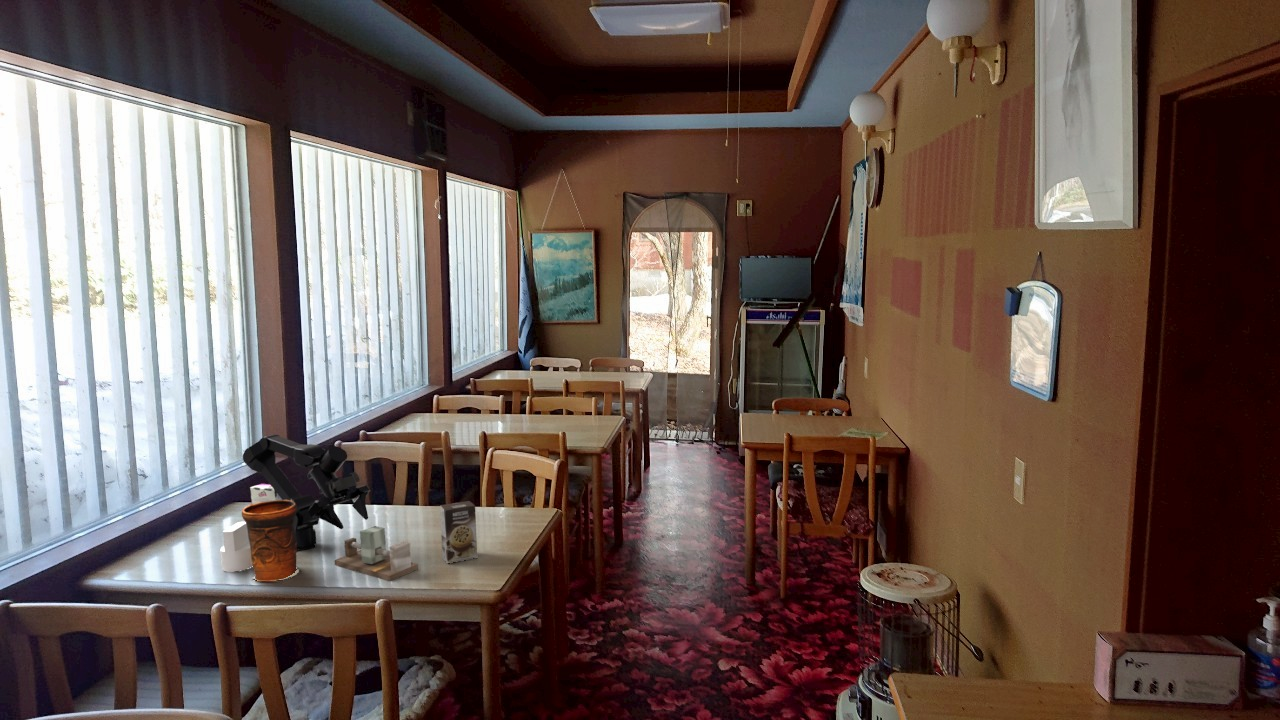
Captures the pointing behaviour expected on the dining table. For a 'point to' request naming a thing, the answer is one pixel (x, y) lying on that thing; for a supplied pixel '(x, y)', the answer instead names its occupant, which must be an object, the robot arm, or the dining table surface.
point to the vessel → (272, 538)
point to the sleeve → (372, 544)
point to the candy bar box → (263, 493)
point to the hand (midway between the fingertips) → (355, 523)
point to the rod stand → (384, 569)
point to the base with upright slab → (236, 548)
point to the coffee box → (458, 531)
